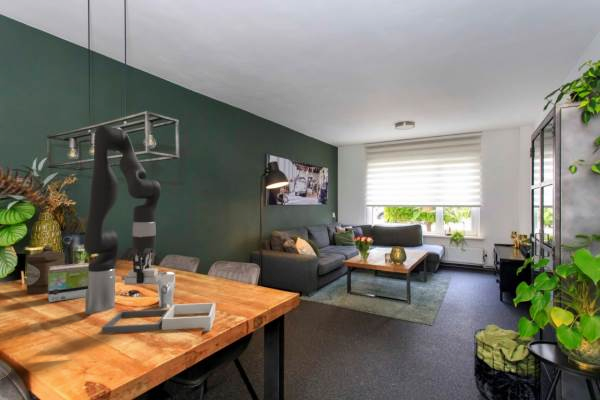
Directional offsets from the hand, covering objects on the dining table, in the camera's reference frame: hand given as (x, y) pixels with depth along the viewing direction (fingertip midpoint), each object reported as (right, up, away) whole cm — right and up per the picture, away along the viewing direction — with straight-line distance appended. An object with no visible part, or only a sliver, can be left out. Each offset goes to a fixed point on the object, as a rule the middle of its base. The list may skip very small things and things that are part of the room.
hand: (143, 280), depth 107 cm
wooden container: (-72, -17, +43) cm, 85 cm away
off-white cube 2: (+2, 0, 0) cm, 2 cm away
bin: (+16, -17, +3) cm, 23 cm away
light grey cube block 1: (-2, 0, 0) cm, 2 cm away
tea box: (-52, -17, +32) cm, 63 cm away
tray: (-1, -16, 0) cm, 17 cm away
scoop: (0, -1, 0) cm, 1 cm away
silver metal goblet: (0, -17, +18) cm, 25 cm away
